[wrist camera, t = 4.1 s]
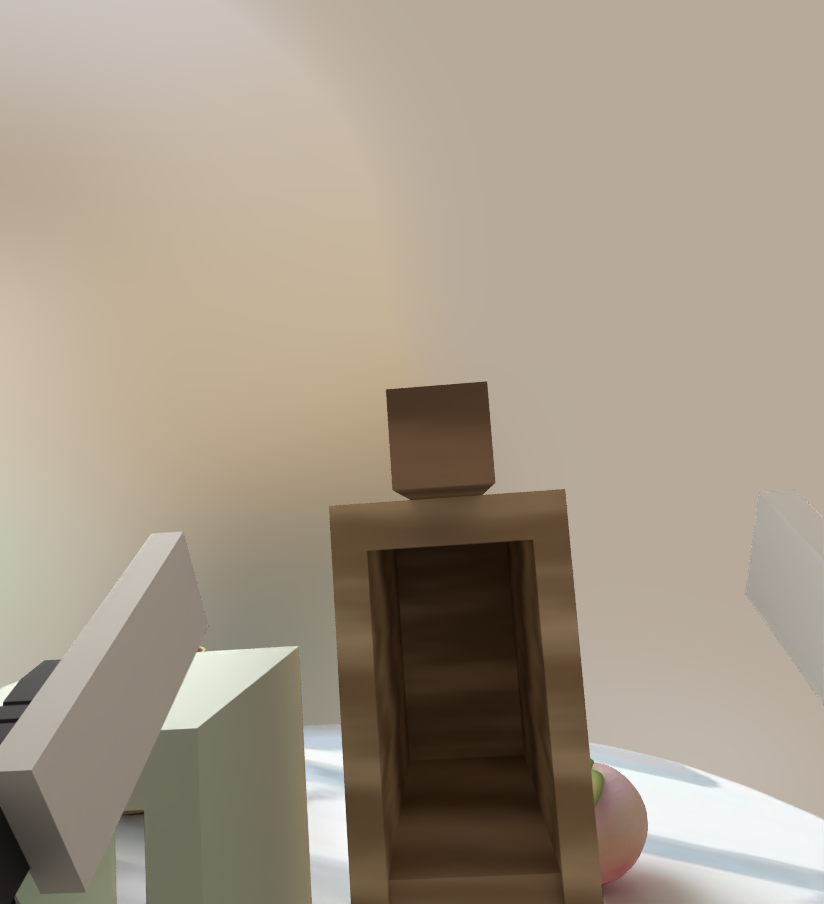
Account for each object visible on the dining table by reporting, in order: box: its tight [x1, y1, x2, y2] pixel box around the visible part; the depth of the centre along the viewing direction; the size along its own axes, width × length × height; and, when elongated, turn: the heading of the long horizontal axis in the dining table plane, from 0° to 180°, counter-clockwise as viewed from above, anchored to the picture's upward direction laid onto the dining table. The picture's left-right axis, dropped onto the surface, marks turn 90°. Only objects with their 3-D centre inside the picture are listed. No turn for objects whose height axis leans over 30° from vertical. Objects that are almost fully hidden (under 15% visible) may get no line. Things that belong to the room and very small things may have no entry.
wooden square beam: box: [386, 382, 495, 500], centre depth 32 cm, size 24×3×3 cm, turn 177°
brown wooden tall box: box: [329, 489, 604, 904], centre depth 35 cm, size 16×10×30 cm, turn 177°
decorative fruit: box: [590, 759, 648, 884], centre depth 54 cm, size 9×8×10 cm
